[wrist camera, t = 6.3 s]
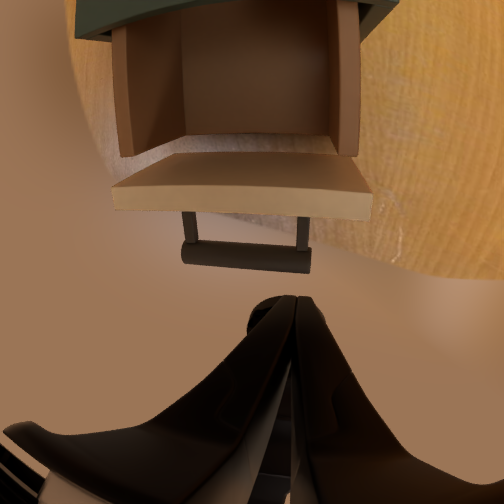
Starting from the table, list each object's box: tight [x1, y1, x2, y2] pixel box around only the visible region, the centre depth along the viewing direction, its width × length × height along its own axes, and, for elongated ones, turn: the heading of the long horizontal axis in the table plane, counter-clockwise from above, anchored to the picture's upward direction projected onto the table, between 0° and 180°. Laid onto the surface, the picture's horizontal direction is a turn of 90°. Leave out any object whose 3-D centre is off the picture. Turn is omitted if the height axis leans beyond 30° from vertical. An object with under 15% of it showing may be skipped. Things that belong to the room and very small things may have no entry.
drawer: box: [111, 0, 373, 274], centre depth 13 cm, size 18×11×7 cm, turn 2°
